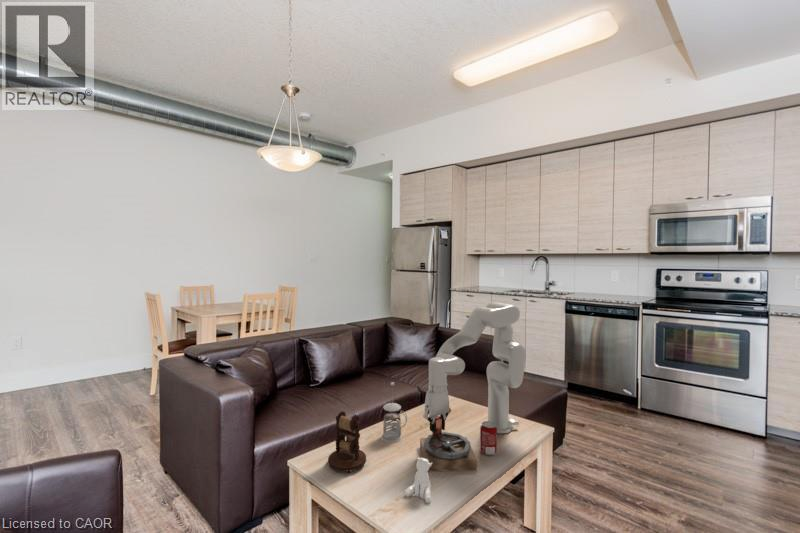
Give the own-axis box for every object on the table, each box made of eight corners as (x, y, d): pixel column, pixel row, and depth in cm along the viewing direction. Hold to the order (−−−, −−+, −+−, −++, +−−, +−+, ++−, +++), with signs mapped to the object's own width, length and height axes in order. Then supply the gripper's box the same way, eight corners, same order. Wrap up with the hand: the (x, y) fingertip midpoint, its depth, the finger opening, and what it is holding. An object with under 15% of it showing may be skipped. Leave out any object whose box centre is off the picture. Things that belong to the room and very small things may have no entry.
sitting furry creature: (403, 496, 129) (403, 462, 129) (412, 482, 137) (413, 450, 136) (429, 504, 125) (430, 468, 125) (437, 489, 133) (438, 456, 133)
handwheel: (478, 453, 149) (478, 430, 149) (440, 463, 142) (440, 439, 141) (451, 432, 166) (452, 412, 166) (416, 441, 159) (416, 419, 158)
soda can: (496, 457, 154) (497, 428, 154) (479, 455, 156) (480, 426, 155) (496, 449, 161) (496, 421, 161) (479, 447, 162) (480, 419, 162)
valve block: (466, 446, 163) (466, 436, 163) (477, 470, 145) (477, 459, 145) (420, 447, 162) (420, 437, 162) (425, 471, 144) (425, 460, 144)
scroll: (373, 460, 151) (373, 411, 151) (350, 479, 138) (350, 425, 138) (344, 450, 159) (344, 403, 158) (320, 467, 146) (320, 416, 145)
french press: (383, 431, 176) (384, 377, 176) (408, 433, 174) (409, 379, 173) (378, 441, 167) (379, 385, 166) (404, 444, 165) (405, 387, 164)
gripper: (447, 381, 167) (447, 422, 168) (416, 388, 159) (415, 431, 159) (458, 386, 161) (458, 429, 162) (426, 394, 152) (426, 439, 153)
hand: (437, 429), depth 160 cm, fingers closed on handwheel, 4 cm apart
